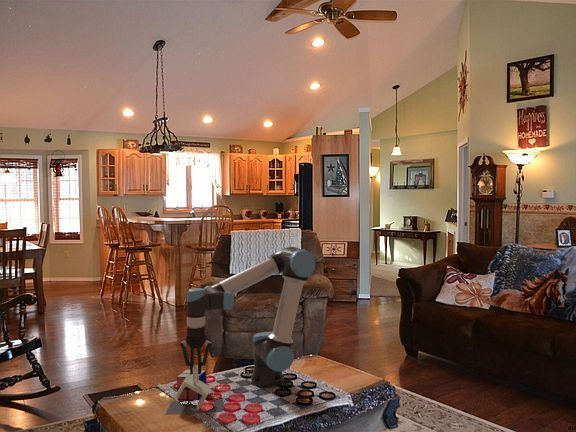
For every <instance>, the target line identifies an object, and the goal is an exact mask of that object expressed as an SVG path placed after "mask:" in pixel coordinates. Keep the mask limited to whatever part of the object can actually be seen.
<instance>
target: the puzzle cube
mask: <svg viewBox="0 0 576 432" xmlns="http://www.w3.org/2000/svg"><path fill="white" fill-rule="evenodd" d="M188 374H189V375H191V376H192V377H193V374H190V369H185V370H184V371H183V372H181V373H180V374H178V376H176V393H177V392H178V390H179V388H180V387H181V385H182V383H183V382H184V380H185V378H186V376H187V375H188ZM199 380H200V381H201V382H203V383H205V384H207V383H208V382H207V370H205V369H203V370H202V372H201V374H199ZM207 385H208V384H207ZM201 396H202V395H201V394H199V393H197V392H195V391H194V390H192V389H190V388H188V387H186V386H185V387H184V389H183V391H182V392H181V394H180V396H179V398H178V399H184V400H183V401H187V400H200V398H201ZM178 399H177V400H178Z"/></svg>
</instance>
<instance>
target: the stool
mask: <svg viewBox="0 0 576 432" xmlns="http://www.w3.org/2000/svg"><path fill="white" fill-rule="evenodd" d="M185 386H186V387H188V388H190V389H192V390H194V391H195V392H197V393H199V394H201V395H202V396H201V398H200V399H199V402H198V405H197V407H196V410H198V411H199V409H200V407H201V405H202V404H203V402H204V400H207V397H208V395H209V392H210V389H211V386H210V385H209V384H205V383H203V382H201V381H200V380H199V382H198V383H196V381H195V383H193V377H192V376H191V375H189V374H188V375H187V376H186V378H185V380H184V382H183V383H182V385H181V387H180V388H179V390H178V392H177V391H176V395H175V397H174V398H175V399H176V400H178V398H179V396H180V394H181V392H182V391H183V389H184V387H185Z"/></svg>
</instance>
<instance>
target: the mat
mask: <svg viewBox="0 0 576 432" xmlns="http://www.w3.org/2000/svg"><path fill="white" fill-rule="evenodd" d="M217 399H218V400H216V401H213V402H214V406H213V408H212V409H210V410H208V411H202V410H200V409H199V411H198V410H196V407H197V405H193V404H189V402H188V403H187V404H183V403H182V404H181V403H180V402H178V401H179V400H171V402H170V403H169V406H168V408H167V410H166V412H165V414H164V416H165V415H166V416H167V415H182V414H183V415H185V414H188V415H189V414H208V413H210V414H211V413H223V408H224V405H223V404H225V400H226V399H225V400H224V402H223V399H224V398H217Z"/></svg>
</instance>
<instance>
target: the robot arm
mask: <svg viewBox="0 0 576 432" xmlns="http://www.w3.org/2000/svg"><path fill="white" fill-rule="evenodd" d="M315 269H316V259H315V257H314V255H313V254H312V253H311V252H310V251H309V250H308V251H307V250H306V249H303V248H300V247H295V246H287V247H284V248H282V249H281V250H278V251H277V252H274V253H273V254H270V255H269V256H267V258H266V259H264V260H263V261H261V262H259V263H257V264H255V265H252V266H251V267H249V268H247V269H244V270H242V271H240V272H239V273H236V274H234V275H232V276H230V277H228V278H226V279H224V280H222V281H219V282H218V283H215V284H214V285H207V286H205V287H204V288H203V287H202V288H201V287H198V288H197V287H191V288H189V289H188V290H187V291H186V338H185V340H183V341H182V340H181V342H180V343H179V345H180V347H181V349H182V354H183V358H184V362H185V366H186V367H189V370H190V374H193V383H195V381H196V383H198V382H199V374H201V372H202V367H205V365H206V363H207V359H208V356H209V351H210V350H209V349H210V347H211V345H212V340H211V341H209V340H207V338H206V326H205V325H206V312H211V311H226V310H232V309H233V307H234V304H235V303H234V302H235V299H234V298H235V297H234V295H235V294H237V293H239V292H241V291H243V290H245V289H248V288H249V287H251V286H254V285H255V284H257V283H259V282H261V281H264V280H265V279H268V278H269V277H271V276H273V275H276V276H278V275H280V274H281V275H282V276H281V277H282V278H283V280H284V281H283V285H282V289H281V293H280V294H281V295H280V299H279V303H278V307H277V310H276V316H275V318H274V324H273V329H272V331H263V332H258V333H255V334H254V335H253V338H252V339H253V341H252V343H253V346H252V347H253V364H254V366H253V368H252V369H253V370H252V373H251V377H250V380H251V385H253V386H256V387H258V388H273V387H277V386H280V385H281V384H283V383H284V380H285V379H284V374H283V372H284V371H286V370H288V369H289V368H290V367H291V366H292V365H293V362H294V360H295V359H294V358H295V355H294V352H293V350H292V349H293V346H294V340H293V339H292V334H293V331H294V325H295V322H296V317H297V313H298V309H299V305H300V300H301V296H302V291H303V287H304V284H306V283H308V281H309V277H310V276H311V275H312V274H313V273H314V271H315ZM187 345H188V347H189V348H190V351H189V352H188V349H187ZM204 345H205V349H204V354H203V355H204V356H203V359H202V347H203V346H204ZM195 349H196V352H197V365H195ZM188 353H190V357H189V354H188Z"/></svg>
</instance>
